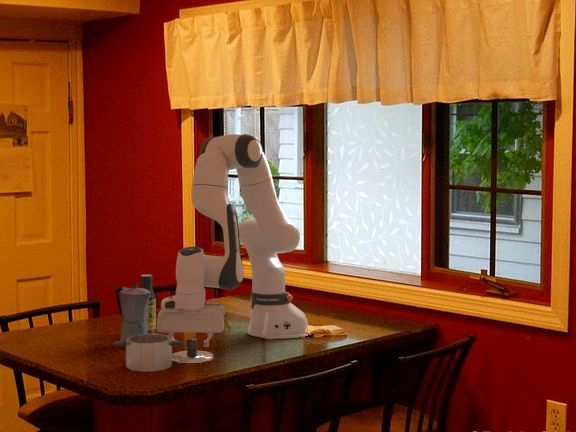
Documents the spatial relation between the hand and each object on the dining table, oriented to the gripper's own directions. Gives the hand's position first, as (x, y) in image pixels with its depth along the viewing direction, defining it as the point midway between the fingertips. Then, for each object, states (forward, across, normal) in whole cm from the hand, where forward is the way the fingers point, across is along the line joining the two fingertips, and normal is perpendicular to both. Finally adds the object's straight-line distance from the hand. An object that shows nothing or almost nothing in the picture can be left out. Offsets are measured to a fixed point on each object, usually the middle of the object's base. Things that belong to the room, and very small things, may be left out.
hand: (190, 346), depth 284 cm
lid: (+4, 0, 0) cm, 4 cm away
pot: (+4, +12, +8) cm, 14 cm away
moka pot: (+4, +20, -19) cm, 28 cm away
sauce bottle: (+4, +17, -33) cm, 37 cm away
